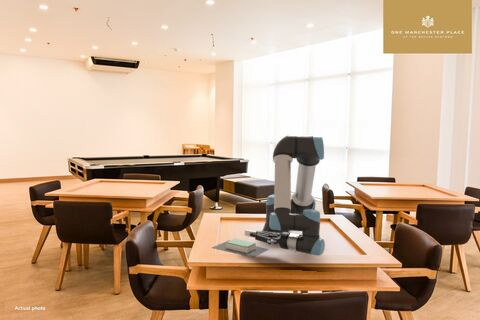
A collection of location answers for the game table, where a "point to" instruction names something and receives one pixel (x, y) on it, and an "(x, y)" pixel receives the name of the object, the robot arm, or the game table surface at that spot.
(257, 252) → the mat
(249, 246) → the tile
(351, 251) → the game table surface
